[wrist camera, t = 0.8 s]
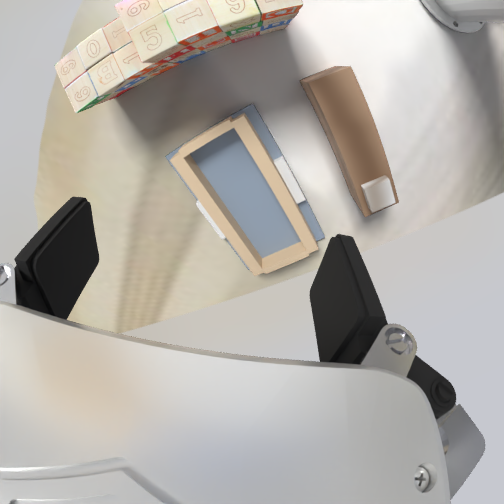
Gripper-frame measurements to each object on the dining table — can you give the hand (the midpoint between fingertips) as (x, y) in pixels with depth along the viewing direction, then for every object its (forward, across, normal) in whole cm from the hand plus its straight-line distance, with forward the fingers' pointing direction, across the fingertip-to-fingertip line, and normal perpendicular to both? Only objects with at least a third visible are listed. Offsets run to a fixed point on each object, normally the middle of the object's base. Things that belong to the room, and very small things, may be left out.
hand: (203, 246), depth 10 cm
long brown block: (+24, -12, -1) cm, 27 cm away
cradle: (+24, -3, +9) cm, 26 cm away
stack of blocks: (+24, +8, -10) cm, 27 cm away
